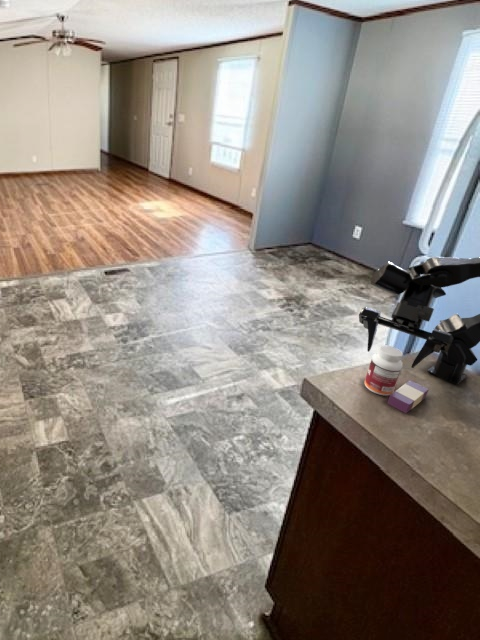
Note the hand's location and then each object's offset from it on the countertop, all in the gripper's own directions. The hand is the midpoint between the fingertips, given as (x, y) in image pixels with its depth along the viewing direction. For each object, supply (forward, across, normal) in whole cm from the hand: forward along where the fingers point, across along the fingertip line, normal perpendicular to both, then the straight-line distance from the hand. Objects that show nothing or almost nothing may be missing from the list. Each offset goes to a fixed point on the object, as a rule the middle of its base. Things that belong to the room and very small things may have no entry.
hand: (389, 359), depth 101 cm
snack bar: (+7, +6, +4) cm, 10 cm away
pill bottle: (+7, 0, +4) cm, 8 cm away
